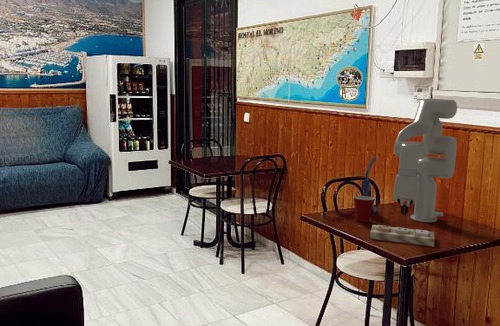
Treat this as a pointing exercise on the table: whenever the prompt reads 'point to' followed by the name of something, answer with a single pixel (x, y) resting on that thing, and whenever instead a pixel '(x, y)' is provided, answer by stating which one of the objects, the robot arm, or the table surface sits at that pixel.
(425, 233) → the tile one
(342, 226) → the table surface
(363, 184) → the hand press
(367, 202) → the plastic cup
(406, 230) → the tile two
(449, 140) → the robot arm
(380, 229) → the tile three
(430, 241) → the board
